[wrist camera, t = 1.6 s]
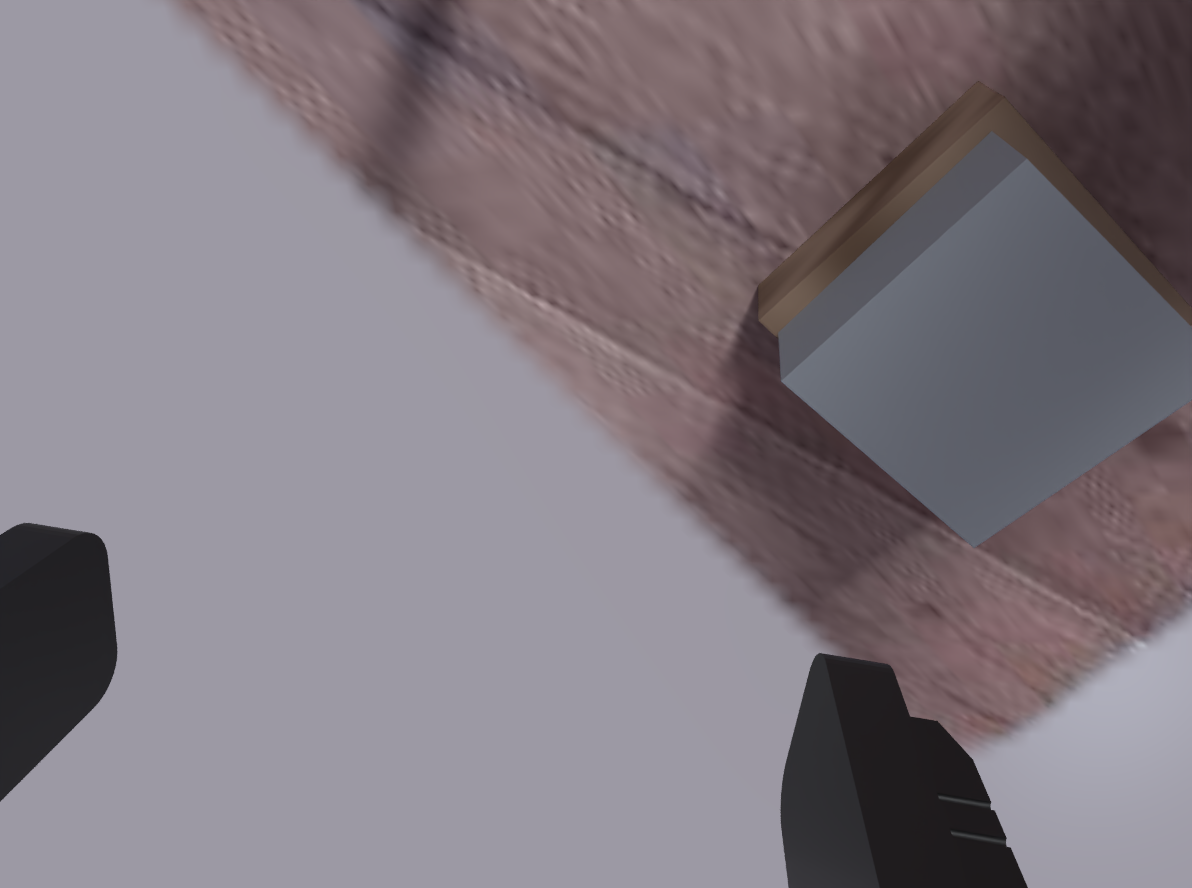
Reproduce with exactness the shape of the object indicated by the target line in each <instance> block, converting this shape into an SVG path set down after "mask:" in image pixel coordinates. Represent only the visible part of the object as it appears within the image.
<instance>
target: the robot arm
mask: <svg viewBox="0 0 1192 888" xmlns="http://www.w3.org/2000/svg"><path fill="white" fill-rule="evenodd" d="M116 661H117V642H116V631H115V621H114V612H113V602H112V592H111V583H110V573H109V565H108V555H107V550H106V547H105V544H104V543H103V541H102V539H101V538H100V537H99V536H97V535H95V534H92V533H88V532H82V531H75V530H69V529H63V528H57V527H51V526H45V525H38V524H32V523H23V524H19V525H16V526H14V527H12V528H11V529H9V530H7V531H6V532H4V533H3V534H1V535H0V801H1V800H2V799H3V798H4V797H5V796H6V795H7V794H8V793H9V792H10V791H11V790H12V789H13V788H14V787H15V786H16V785H17V784H18V783H19V782H20V781H21V780H22V779H23V778H24V777H25V776H26V775H27V774H28V773H29V772H30V771H31V770H32V769H33V768H34V767H35V766H36V765H37V764H38V763H39V762H40V761H41V760H42V759H43V758H44V757H45V756H46V755H47V754H48V753H49V752H50V751H51V750H52V749H53V748H54V747H55V746H56V745H57V744H58V743H59V742H60V741H61V740H62V739H63V738H64V737H65V736H66V735H67V734H68V733H69V732H70V731H71V730H72V729H73V728H74V727H75V726H76V725H77V724H78V723H79V722H80V721H81V720H82V719H83V718H84V717H85V716H86V715H87V714H88V713H89V712H90V711H91V710H92V709H93V708H94V707H95V706H96V705H97V704H98V702H99V701H100V700H101V698H102V697H103V695H104V694H105V692H106V690H107V688H108V686H109V684H110V682H111V679H112V677H113V674H114V670H115V666H116ZM990 804H991V801H990V798H989V796H988V794H987V792H986V789H985V787H984V784H983V782H982V780H981V778H980V775H979V773H978V771H977V768H976V766H975V763H974V761H973V759H972V758H971V757H970V756H969V755H968V754H967V753H966V752H965V751H964V749H963V748H962V747H961V746H960V745H959V744H958V743H957V742H956V741H955V740H954V739H953V738H952V736H951V735H950V734H949V733H948V732H947V731H946V730H945V729H944V728H943V727H942V726H941V724H940V723H939V722H938V721H934V720H928V719H922V718H916V717H910V715H909V713H908V710H907V707H906V704H905V701H904V699H903V696H902V693H901V690H900V687H899V685H898V682H897V679H896V676H895V673H894V671H893V669H892V668H891V666H890V665H888V664H884V663H878V662H871V661H865V660H859V659H853V658H847V657H841V656H834V655H828V654H822V653H819V654H817V655H816V657H815V658H814V660H813V662H812V665H811V668H810V671H809V675H808V679H807V683H806V687H805V690H804V694H803V699H802V702H801V706H800V710H799V714H798V718H797V722H796V726H795V730H794V733H793V737H792V741H791V745H790V749H789V753H788V757H787V761H786V765H785V769H784V775H783V782H782V792H781V828H782V836H783V845H784V853H785V861H786V869H787V877H788V886H789V888H1028V887H1027V885H1026V883H1025V880H1024V878H1023V875H1022V873H1021V871H1020V869H1019V866H1018V864H1017V861H1016V859H1015V857H1014V855H1013V852H1012V850H1011V848H1010V847H1006V836H1005V833H1004V832H1003V829H1002V826H1001V824H1000V822H999V819H998V817H997V815H996V813H995V811H994V810H991V808H990Z"/></svg>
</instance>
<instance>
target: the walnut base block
mask: <svg viewBox="0 0 1192 888" xmlns="http://www.w3.org/2000/svg"><path fill="white" fill-rule="evenodd" d="M991 131H992V132H994V133H995V134H996V135H998V136H999V137H1000V138H1001V139H1003V140H1004V141H1005V142H1006V143H1008V144H1009V145H1010V146H1011V147H1013V148H1014V149H1015V150H1017V151H1018V152H1019V153H1020V154H1022V155H1023V156H1024V157H1025V158H1027V159H1028V160H1029V161H1030V162H1031V163H1032V164H1033V165H1034V166H1035V167H1036V168H1037V169H1038V171H1039V172H1040V173H1041V174H1042V175H1043V176H1044V177H1045V178H1046V179H1047V180H1048V181H1049V182H1050V183H1051V184H1052V185H1053V186H1054V187H1055V188H1056V189H1057V190H1058V191H1059V192H1060V193H1061V194H1062V195H1063V196H1064V197H1065V198H1066V199H1067V200H1068V201H1069V202H1070V203H1071V204H1072V205H1073V206H1074V207H1075V208H1076V209H1077V210H1078V211H1079V212H1080V213H1081V214H1082V216H1083V217H1084V218H1085V219H1086V220H1087V221H1088V222H1089V223H1090V224H1091V225H1092V226H1093V227H1094V228H1095V229H1096V230H1097V231H1098V232H1099V233H1100V234H1101V235H1102V236H1103V237H1104V238H1105V239H1106V240H1107V241H1108V242H1109V243H1110V244H1111V245H1112V246H1113V247H1114V248H1115V249H1116V250H1117V251H1118V252H1119V253H1120V254H1121V255H1122V256H1123V257H1124V258H1125V260H1126V261H1127V262H1128V263H1129V264H1130V265H1131V266H1132V267H1133V268H1134V269H1135V270H1136V271H1137V272H1138V273H1139V274H1140V275H1141V276H1142V277H1143V278H1144V279H1145V280H1146V281H1147V282H1148V283H1149V284H1150V285H1151V286H1152V287H1153V288H1154V289H1155V290H1156V291H1157V292H1158V293H1159V294H1160V295H1161V296H1162V297H1163V298H1164V299H1165V300H1166V301H1167V302H1168V303H1169V305H1170V306H1171V307H1172V308H1173V309H1174V310H1175V311H1176V312H1177V313H1178V314H1179V315H1180V316H1181V317H1182V318H1183V319H1184V320H1185V321H1186V322H1187V323H1188V324H1189V325H1190V326H1191V325H1192V308H1191V307H1190V306H1189V305H1188V303H1187V302H1186V301H1185V300H1184V299H1183V298H1182V297H1181V296H1180V294H1179V293H1178V292H1177V291H1176V290H1175V289H1174V288H1173V286H1172V285H1171V284H1170V283H1169V282H1168V281H1167V280H1166V279H1165V277H1164V276H1163V275H1162V274H1161V273H1160V272H1159V271H1158V270H1157V268H1156V267H1155V266H1154V265H1153V264H1152V263H1151V262H1150V261H1149V259H1148V258H1147V257H1146V256H1145V255H1144V254H1143V253H1142V251H1141V250H1140V249H1139V248H1138V247H1137V246H1136V245H1135V244H1134V242H1133V241H1132V240H1131V239H1130V238H1129V237H1128V236H1127V235H1126V233H1125V232H1124V231H1123V230H1122V229H1121V228H1120V227H1119V226H1118V224H1117V223H1116V222H1115V221H1114V220H1113V219H1112V218H1111V217H1110V215H1109V214H1108V213H1107V212H1106V211H1105V210H1104V209H1103V207H1102V206H1101V205H1100V204H1099V203H1098V202H1097V201H1096V200H1095V198H1094V197H1093V196H1092V195H1091V194H1090V193H1089V192H1088V191H1087V189H1086V188H1085V187H1084V186H1083V185H1082V184H1081V183H1080V182H1079V180H1078V179H1077V178H1076V177H1075V176H1074V175H1073V174H1072V172H1071V171H1070V170H1069V169H1068V168H1067V167H1066V166H1065V165H1064V163H1063V162H1062V161H1061V160H1060V159H1059V158H1058V157H1057V156H1056V154H1055V153H1054V152H1053V151H1052V150H1051V149H1050V148H1049V147H1048V145H1047V144H1046V143H1045V142H1044V141H1043V140H1042V139H1041V137H1040V136H1039V135H1038V134H1037V133H1036V132H1035V131H1034V130H1033V128H1032V127H1031V126H1030V125H1029V124H1028V123H1027V122H1026V121H1025V119H1024V118H1023V117H1022V116H1021V115H1020V114H1019V113H1018V112H1017V110H1016V109H1015V108H1014V107H1013V106H1012V105H1011V104H1010V102H1009V101H1008V100H1007V99H1006V98H1005V97H1004V96H1002V95H1000V94H999V93H997V92H995V91H994V90H992V89H990V88H989V87H987V86H986V85H984V84H982V83H981V82H979V81H978V82H976V83H975V84H974V85H973V86H972V87H971V88H970V89H969V90H968V91H967V92H966V93H965V94H964V95H962V96H961V97H960V98H959V99H958V100H957V101H956V102H955V103H954V104H953V105H952V106H951V107H950V108H949V109H947V110H946V111H945V112H944V113H943V114H942V115H941V116H940V117H939V118H938V119H937V120H936V121H935V122H933V123H932V124H931V125H930V126H929V127H928V128H927V129H926V130H925V131H924V132H923V133H922V134H921V135H920V136H918V137H917V138H916V139H915V140H914V141H913V142H912V143H911V144H910V145H909V146H908V147H907V148H906V149H904V150H903V151H902V152H901V153H900V154H899V155H898V156H897V157H896V158H895V159H894V160H893V161H892V162H891V163H889V164H888V165H887V166H886V167H885V168H884V169H883V170H882V171H881V172H880V173H879V174H878V175H877V176H875V177H874V178H873V179H872V180H871V181H870V182H869V183H868V184H867V185H866V186H865V187H864V188H863V189H862V190H860V191H859V192H858V193H857V194H856V195H855V196H854V197H853V198H852V199H851V200H850V201H849V202H848V203H846V204H845V205H844V206H843V207H842V208H841V209H840V210H839V211H838V212H837V213H836V214H835V215H834V216H833V217H831V218H830V219H829V220H828V221H827V222H826V223H825V224H824V225H823V226H822V227H821V228H820V229H819V230H818V231H816V232H815V233H814V234H813V235H812V236H811V237H810V238H809V239H808V240H807V241H806V242H805V243H804V244H802V245H801V246H800V247H799V248H798V249H797V250H796V251H795V252H794V253H793V254H792V255H791V256H790V257H789V258H787V259H786V260H785V261H784V262H783V263H782V264H781V265H780V266H779V267H778V268H777V269H776V270H775V271H773V272H772V273H771V274H770V275H769V276H768V277H767V278H766V279H765V280H764V281H763V282H762V283H761V284H760V285H758V321H760V322H761V323H762V324H763V325H764V326H765V327H766V328H767V329H768V330H769V331H770V332H771V333H772V334H773V335H774V336H775V337H777V338H778V339H779V337H778V332H779V331H781V330H782V329H783V328H784V327H785V326H786V325H787V324H788V323H789V322H790V321H791V320H792V319H793V318H794V317H795V316H796V315H797V314H799V313H800V312H801V311H802V310H803V309H804V308H805V307H806V306H807V305H808V304H809V303H810V302H811V301H812V300H813V299H814V298H815V297H817V296H818V295H819V294H820V293H821V292H822V291H823V290H824V289H825V288H826V287H827V286H828V285H829V284H830V283H831V282H832V281H833V280H835V279H836V278H837V277H838V276H839V275H840V274H841V273H842V272H843V271H844V270H845V269H846V268H847V267H848V266H849V265H850V264H851V263H853V262H854V261H855V260H856V259H857V258H858V257H859V256H860V255H861V254H862V253H863V252H864V251H865V250H866V249H867V248H868V247H869V246H871V245H872V244H873V243H874V242H875V241H876V240H877V239H878V238H879V237H880V236H881V235H882V234H883V233H884V232H885V231H886V230H887V229H889V228H890V227H891V226H892V225H893V224H894V223H895V222H896V221H897V220H898V219H899V218H900V217H901V216H902V215H903V214H904V213H905V212H907V211H908V210H909V209H910V208H911V207H912V206H913V205H914V204H915V203H916V202H917V201H918V200H919V199H920V198H921V197H922V196H923V195H925V194H926V193H927V192H928V191H929V190H930V189H931V188H932V187H933V186H934V185H935V184H936V183H937V182H938V181H939V180H940V179H941V178H943V177H944V176H945V175H946V174H947V173H948V172H949V171H950V170H951V169H952V168H953V167H954V166H955V165H956V164H957V163H958V162H959V161H961V160H962V159H963V158H964V157H965V156H966V155H967V154H968V153H969V152H970V151H971V150H972V149H973V148H974V147H975V146H976V145H977V144H979V143H980V142H981V141H982V140H983V139H984V138H985V137H986V136H987V135H988V134H989V133H990V132H991Z"/></svg>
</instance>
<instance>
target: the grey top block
mask: <svg viewBox="0 0 1192 888" xmlns="http://www.w3.org/2000/svg"><path fill="white" fill-rule="evenodd" d="M778 337H779V355H780V373H781V382H782V383H783V384H785V385H786V386H787V387H788V388H789V389H790V390H792V391H793V392H794V393H795V394H796V395H797V396H799V397H800V398H801V399H802V400H803V401H804V402H805V403H807V404H808V405H809V406H810V407H811V408H812V409H814V410H815V411H816V412H817V413H818V414H819V415H820V416H822V417H823V418H824V419H825V420H826V421H827V422H829V423H830V424H831V425H832V426H833V427H834V428H836V429H837V430H838V431H839V432H840V433H841V434H842V435H844V436H845V437H846V438H847V439H848V440H849V441H851V442H852V443H853V444H854V445H855V446H856V447H858V448H859V449H860V450H861V451H862V452H863V453H864V454H866V455H867V456H868V457H869V458H870V459H871V460H873V461H874V462H875V463H876V464H877V465H878V466H879V467H881V468H882V469H883V470H884V471H885V472H886V473H888V474H889V475H890V476H891V477H892V478H893V479H895V480H896V481H897V482H898V483H899V484H900V485H901V486H903V487H904V488H905V489H906V490H907V491H908V492H910V493H911V494H912V495H913V496H914V497H915V498H917V499H918V500H919V501H920V502H921V503H922V504H923V505H925V506H926V507H927V508H928V509H929V510H930V511H932V512H933V513H934V514H935V515H936V516H937V517H938V518H940V519H941V520H942V521H943V522H944V523H945V524H947V525H948V526H949V527H950V528H951V529H952V530H954V531H955V532H956V533H957V534H958V535H959V536H960V537H962V538H963V539H964V540H965V541H966V542H967V543H969V544H970V545H971V546H972V547H973V548H975V547H976V546H978V545H979V544H981V543H982V542H984V541H985V540H987V539H988V538H990V537H991V536H993V535H994V534H996V533H997V532H999V531H1000V530H1001V529H1003V528H1004V527H1006V526H1007V525H1009V524H1010V523H1012V522H1013V521H1015V520H1016V519H1018V518H1019V517H1021V516H1022V515H1024V514H1025V513H1026V512H1028V511H1029V510H1031V509H1032V508H1034V507H1035V506H1037V505H1038V504H1040V503H1041V502H1043V501H1044V500H1046V499H1047V498H1049V497H1050V496H1051V495H1053V494H1054V493H1056V492H1057V491H1059V490H1060V489H1062V488H1063V487H1065V486H1066V485H1068V484H1069V483H1071V482H1072V481H1074V480H1075V479H1076V478H1078V477H1079V476H1081V475H1082V474H1084V473H1085V472H1087V471H1088V470H1090V469H1091V468H1093V467H1094V466H1096V465H1097V464H1099V463H1100V462H1101V461H1103V460H1104V459H1106V458H1107V457H1109V456H1110V455H1112V454H1113V453H1115V452H1116V451H1118V450H1119V449H1121V448H1122V447H1124V446H1125V445H1126V444H1128V443H1129V442H1131V441H1132V440H1134V439H1135V438H1137V437H1138V436H1140V435H1141V434H1143V433H1144V432H1146V431H1147V430H1149V429H1150V428H1151V427H1153V426H1154V425H1156V424H1157V423H1159V422H1160V421H1162V420H1163V419H1165V418H1166V417H1168V416H1169V415H1171V414H1172V413H1174V412H1175V411H1176V410H1178V409H1179V408H1181V407H1182V406H1184V405H1185V404H1187V403H1188V402H1190V401H1191V400H1192V327H1191V326H1190V325H1189V324H1188V323H1187V322H1186V321H1185V320H1184V319H1183V318H1182V317H1181V316H1180V315H1179V314H1178V313H1177V312H1176V311H1175V310H1174V309H1173V308H1172V307H1171V306H1170V305H1169V303H1168V302H1167V301H1166V300H1165V299H1164V298H1163V297H1162V296H1161V295H1160V294H1159V293H1158V292H1157V291H1156V290H1155V289H1154V288H1153V287H1152V286H1151V285H1150V284H1149V283H1148V282H1147V281H1146V280H1145V279H1144V278H1143V277H1142V276H1141V275H1140V274H1139V273H1138V272H1137V271H1136V270H1135V269H1134V268H1133V267H1132V266H1131V265H1130V264H1129V263H1128V262H1127V261H1126V260H1125V258H1124V257H1123V256H1122V255H1121V254H1120V253H1119V252H1118V251H1117V250H1116V249H1115V248H1114V247H1113V246H1112V245H1111V244H1110V243H1109V242H1108V241H1107V240H1106V239H1105V238H1104V237H1103V236H1102V235H1101V234H1100V233H1099V232H1098V231H1097V230H1096V229H1095V228H1094V227H1093V226H1092V225H1091V224H1090V223H1089V222H1088V221H1087V220H1086V219H1085V218H1084V217H1083V216H1082V214H1081V213H1080V212H1079V211H1078V210H1077V209H1076V208H1075V207H1074V206H1073V205H1072V204H1071V203H1070V202H1069V201H1068V200H1067V199H1066V198H1065V197H1064V196H1063V195H1062V194H1061V193H1060V192H1059V191H1058V190H1057V189H1056V188H1055V187H1054V186H1053V185H1052V184H1051V183H1050V182H1049V181H1048V180H1047V179H1046V178H1045V177H1044V176H1043V175H1042V174H1041V173H1040V172H1039V171H1038V169H1037V168H1036V167H1035V166H1034V165H1033V164H1032V163H1031V162H1030V161H1029V160H1028V159H1027V158H1025V157H1024V156H1023V155H1022V154H1020V153H1019V152H1018V151H1017V150H1015V149H1014V148H1013V147H1011V146H1010V145H1009V144H1008V143H1006V142H1005V141H1004V140H1003V139H1001V138H1000V137H999V136H998V135H996V134H995V133H994V132H992V131H991V132H990V133H989V134H988V135H987V136H986V137H985V138H984V139H983V140H982V141H981V142H980V143H979V144H977V145H976V146H975V147H974V148H973V149H972V150H971V151H970V152H969V153H968V154H967V155H966V156H965V157H964V158H963V159H962V160H961V161H959V162H958V163H957V164H956V165H955V166H954V167H953V168H952V169H951V170H950V171H949V172H948V173H947V174H946V175H945V176H944V177H943V178H941V179H940V180H939V181H938V182H937V183H936V184H935V185H934V186H933V187H932V188H931V189H930V190H929V191H928V192H927V193H926V194H925V195H923V196H922V197H921V198H920V199H919V200H918V201H917V202H916V203H915V204H914V205H913V206H912V207H911V208H910V209H909V210H908V211H907V212H905V213H904V214H903V215H902V216H901V217H900V218H899V219H898V220H897V221H896V222H895V223H894V224H893V225H892V226H891V227H890V228H889V229H887V230H886V231H885V232H884V233H883V234H882V235H881V236H880V237H879V238H878V239H877V240H876V241H875V242H874V243H873V244H872V245H871V246H869V247H868V248H867V249H866V250H865V251H864V252H863V253H862V254H861V255H860V256H859V257H858V258H857V259H856V260H855V261H854V262H853V263H851V264H850V265H849V266H848V267H847V268H846V269H845V270H844V271H843V272H842V273H841V274H840V275H839V276H838V277H837V278H836V279H835V280H833V281H832V282H831V283H830V284H829V285H828V286H827V287H826V288H825V289H824V290H823V291H822V292H821V293H820V294H819V295H818V296H817V297H815V298H814V299H813V300H812V301H811V302H810V303H809V304H808V305H807V306H806V307H805V308H804V309H803V310H802V311H801V312H800V313H799V314H797V315H796V316H795V317H794V318H793V319H792V320H791V321H790V322H789V323H788V324H787V325H786V326H785V327H784V328H783V329H782V330H781V331H779V332H778Z"/></svg>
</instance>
